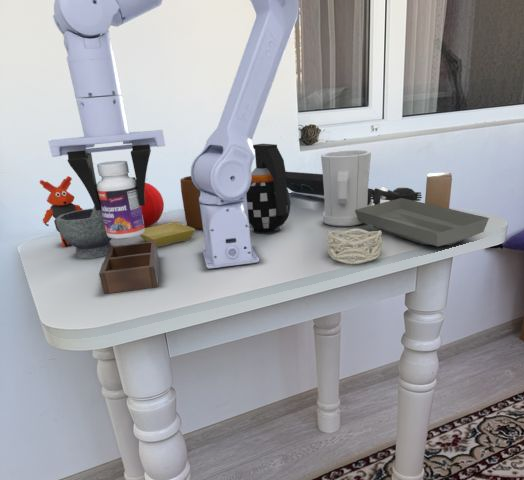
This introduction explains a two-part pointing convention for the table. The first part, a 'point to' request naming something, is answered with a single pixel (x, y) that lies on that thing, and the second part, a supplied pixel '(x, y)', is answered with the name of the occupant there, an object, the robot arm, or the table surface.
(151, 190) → the tomato
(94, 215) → the mortar and pestle
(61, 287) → the table surface
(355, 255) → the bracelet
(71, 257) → the table surface
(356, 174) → the cup
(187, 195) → the mug
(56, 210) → the toy animal
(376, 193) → the figurine
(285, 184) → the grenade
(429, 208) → the grey tray
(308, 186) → the smart home device
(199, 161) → the robot arm
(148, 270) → the rack
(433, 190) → the wooden block
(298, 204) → the table surface
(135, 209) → the pill bottle
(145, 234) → the saucer
